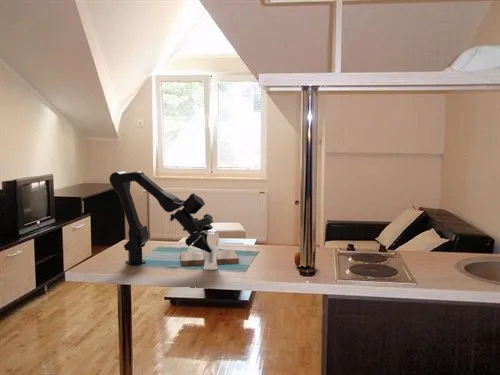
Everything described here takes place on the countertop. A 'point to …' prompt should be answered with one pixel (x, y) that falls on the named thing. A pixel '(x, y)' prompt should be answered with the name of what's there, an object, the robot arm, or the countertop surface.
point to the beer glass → (213, 242)
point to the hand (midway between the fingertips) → (213, 250)
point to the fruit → (297, 258)
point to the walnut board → (198, 259)
